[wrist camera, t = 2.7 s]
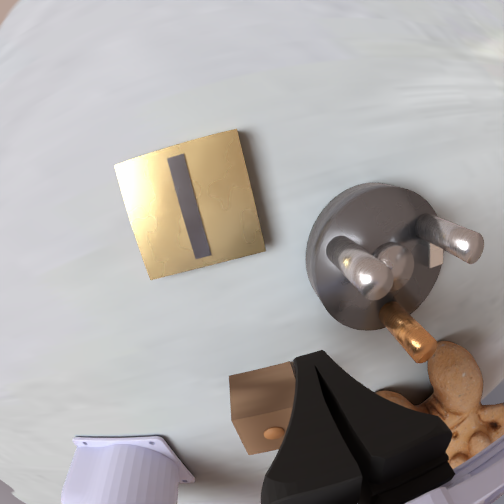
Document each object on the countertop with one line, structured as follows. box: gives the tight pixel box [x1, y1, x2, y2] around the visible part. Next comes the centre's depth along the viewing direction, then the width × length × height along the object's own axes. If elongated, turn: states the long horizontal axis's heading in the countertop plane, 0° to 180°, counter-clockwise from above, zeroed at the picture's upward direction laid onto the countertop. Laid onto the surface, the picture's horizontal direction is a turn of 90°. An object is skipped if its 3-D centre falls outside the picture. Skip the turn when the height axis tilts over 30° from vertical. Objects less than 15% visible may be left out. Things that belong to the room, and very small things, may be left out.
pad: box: [114, 129, 266, 280], centre depth 14 cm, size 6×6×1 cm
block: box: [229, 361, 296, 455], centre depth 17 cm, size 4×4×4 cm
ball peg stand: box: [306, 183, 484, 363], centre depth 14 cm, size 8×8×6 cm
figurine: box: [376, 341, 504, 469], centre depth 16 cm, size 11×9×15 cm
